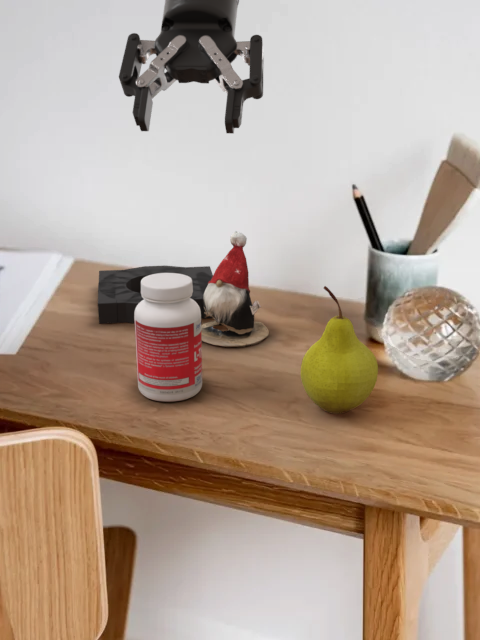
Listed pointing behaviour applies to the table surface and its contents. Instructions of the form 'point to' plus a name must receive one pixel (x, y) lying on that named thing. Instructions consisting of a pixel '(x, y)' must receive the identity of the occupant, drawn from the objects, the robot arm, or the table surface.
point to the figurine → (232, 302)
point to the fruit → (338, 367)
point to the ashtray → (125, 290)
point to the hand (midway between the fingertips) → (186, 127)
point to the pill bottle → (168, 338)
